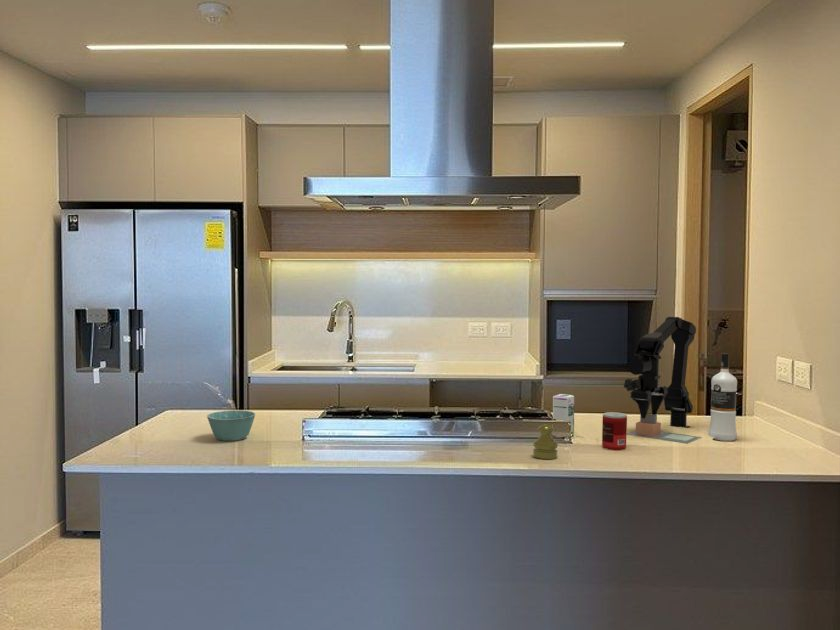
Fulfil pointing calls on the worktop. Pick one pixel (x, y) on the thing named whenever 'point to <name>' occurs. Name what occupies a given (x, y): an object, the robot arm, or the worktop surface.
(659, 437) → the base
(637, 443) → the worktop surface
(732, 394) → the vodka
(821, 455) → the worktop surface
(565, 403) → the syrup box
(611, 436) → the canned food
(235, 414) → the bowl
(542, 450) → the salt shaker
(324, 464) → the worktop surface
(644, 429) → the salmon orange block
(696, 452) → the worktop surface
